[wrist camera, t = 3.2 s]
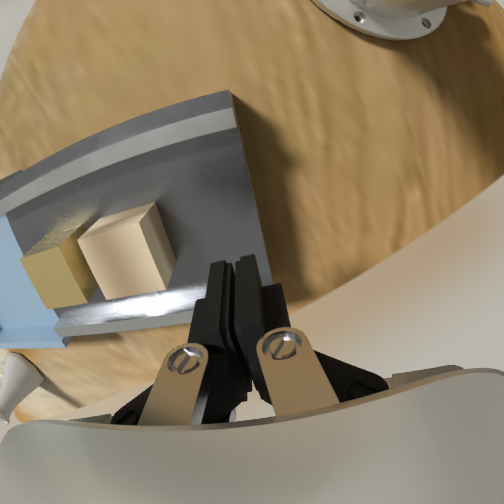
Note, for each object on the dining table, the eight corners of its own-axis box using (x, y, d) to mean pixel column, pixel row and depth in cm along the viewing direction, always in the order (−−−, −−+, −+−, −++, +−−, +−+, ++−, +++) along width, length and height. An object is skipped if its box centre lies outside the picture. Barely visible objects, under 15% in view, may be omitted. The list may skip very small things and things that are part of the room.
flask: (52, 381, 31) (28, 435, 23) (31, 384, 33) (9, 431, 24) (18, 346, 28) (-13, 400, 19) (1, 353, 29) (-26, 399, 21)
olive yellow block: (81, 224, 16) (58, 246, 14) (105, 276, 18) (88, 303, 16) (42, 238, 17) (19, 259, 14) (65, 285, 19) (47, 309, 16)
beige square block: (155, 202, 16) (138, 222, 13) (176, 261, 18) (166, 289, 15) (99, 218, 16) (77, 240, 14) (122, 272, 18) (106, 300, 15)
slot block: (231, 93, 17) (227, 88, 12) (272, 276, 23) (279, 319, 19) (25, 173, 18) (-14, 193, 14) (86, 308, 25) (65, 345, 20)
